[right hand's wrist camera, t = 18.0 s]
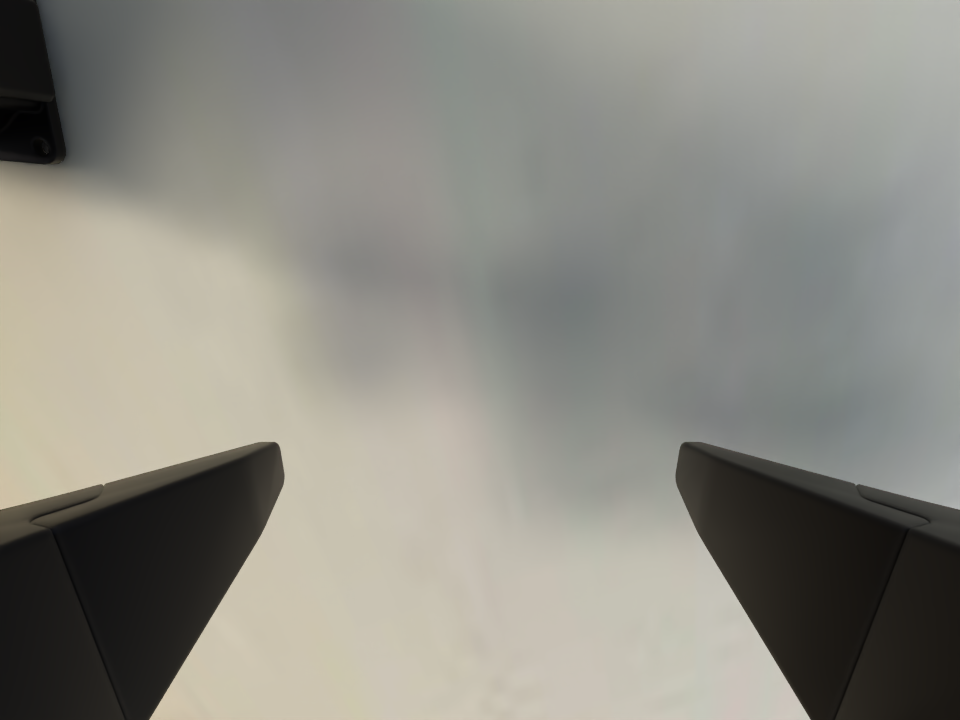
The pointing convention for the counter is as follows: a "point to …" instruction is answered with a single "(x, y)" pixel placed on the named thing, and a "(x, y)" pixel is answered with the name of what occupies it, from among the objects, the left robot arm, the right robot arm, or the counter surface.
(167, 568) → the right robot arm
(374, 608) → the counter surface
